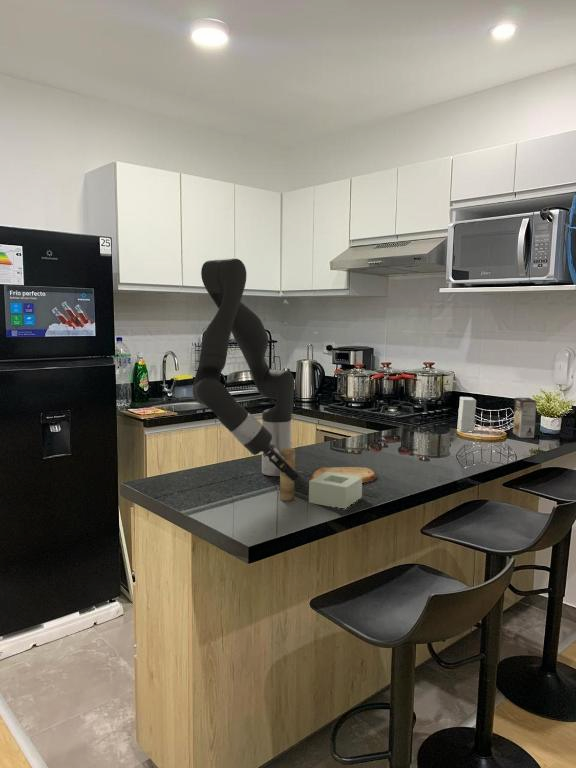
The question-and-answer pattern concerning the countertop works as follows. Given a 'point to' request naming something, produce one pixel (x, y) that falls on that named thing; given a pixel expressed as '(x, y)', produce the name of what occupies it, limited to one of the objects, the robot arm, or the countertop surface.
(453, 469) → the countertop surface
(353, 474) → the slice of bread
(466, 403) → the skincare box
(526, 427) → the coffee box
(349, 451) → the countertop surface
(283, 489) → the dowel
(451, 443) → the countertop surface
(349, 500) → the holder
